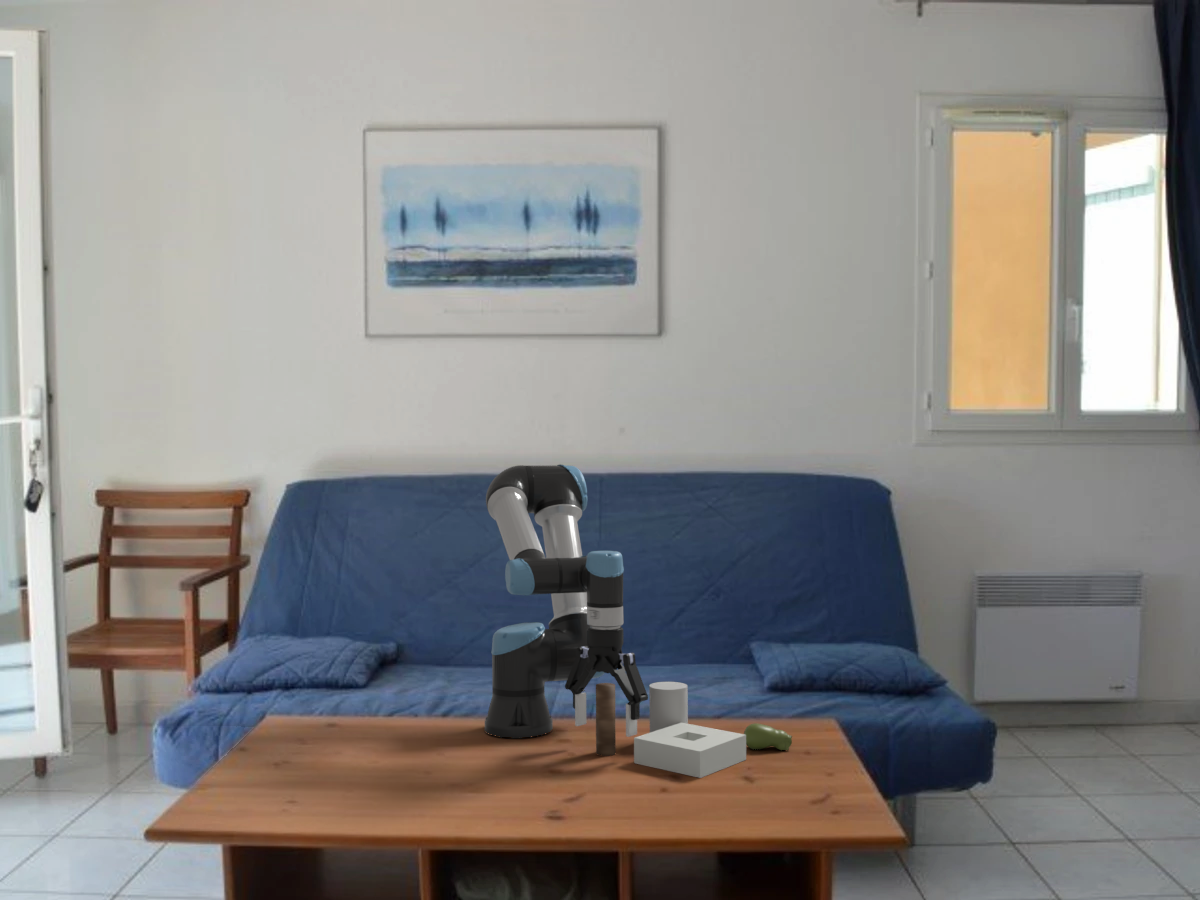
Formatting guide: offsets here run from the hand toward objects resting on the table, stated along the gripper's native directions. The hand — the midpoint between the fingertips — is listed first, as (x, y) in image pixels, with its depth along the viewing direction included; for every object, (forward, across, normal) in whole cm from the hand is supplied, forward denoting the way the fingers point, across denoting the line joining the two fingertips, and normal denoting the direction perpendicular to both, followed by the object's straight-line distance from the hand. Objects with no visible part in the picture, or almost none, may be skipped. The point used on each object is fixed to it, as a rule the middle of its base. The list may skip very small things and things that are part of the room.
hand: (605, 730), depth 224 cm
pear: (+5, +24, +24) cm, 34 cm away
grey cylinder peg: (+5, +5, +15) cm, 17 cm away
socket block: (+5, +17, +6) cm, 19 cm away
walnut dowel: (+5, 0, 0) cm, 5 cm away
